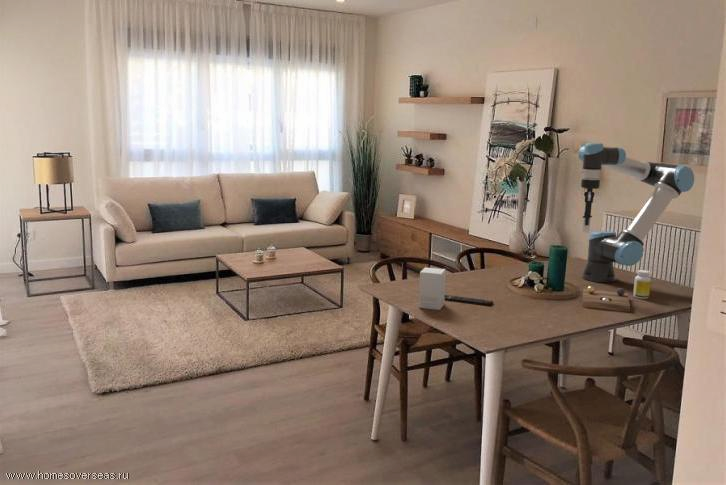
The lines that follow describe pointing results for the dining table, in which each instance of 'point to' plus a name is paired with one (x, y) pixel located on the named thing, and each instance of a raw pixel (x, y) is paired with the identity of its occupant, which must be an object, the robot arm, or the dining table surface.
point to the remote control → (469, 300)
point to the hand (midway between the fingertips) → (585, 232)
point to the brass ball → (590, 289)
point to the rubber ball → (620, 291)
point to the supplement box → (432, 288)
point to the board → (614, 301)
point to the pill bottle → (642, 285)
